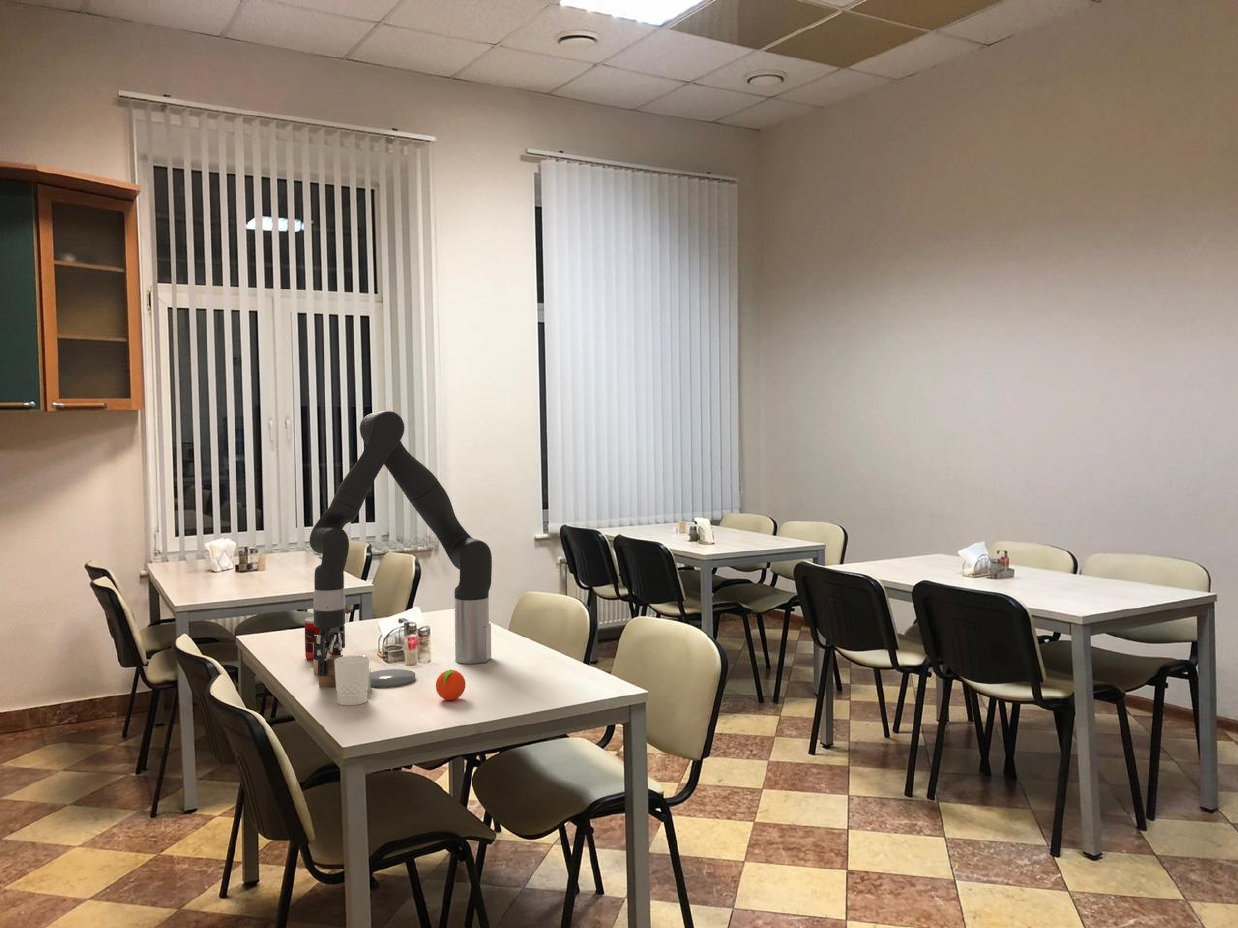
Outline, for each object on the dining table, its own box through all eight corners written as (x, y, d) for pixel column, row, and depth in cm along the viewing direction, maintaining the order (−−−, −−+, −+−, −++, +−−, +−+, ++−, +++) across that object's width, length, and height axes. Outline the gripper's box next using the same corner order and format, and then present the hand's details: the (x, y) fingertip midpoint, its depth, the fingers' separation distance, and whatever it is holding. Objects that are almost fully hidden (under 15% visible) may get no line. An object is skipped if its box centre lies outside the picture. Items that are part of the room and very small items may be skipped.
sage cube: (370, 688, 238) (370, 667, 238) (369, 693, 233) (368, 673, 233) (349, 689, 237) (349, 668, 237) (347, 694, 232) (347, 674, 232)
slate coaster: (421, 674, 251) (421, 669, 251) (406, 687, 238) (406, 682, 238) (372, 673, 252) (372, 668, 252) (354, 686, 239) (354, 681, 239)
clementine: (458, 705, 222) (458, 675, 222) (429, 704, 224) (429, 673, 223) (469, 696, 230) (469, 666, 230) (442, 694, 232) (441, 665, 231)
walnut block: (343, 682, 243) (343, 654, 243) (336, 687, 239) (336, 659, 238) (326, 682, 243) (325, 654, 243) (319, 687, 239) (318, 659, 239)
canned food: (338, 654, 273) (338, 615, 272) (327, 661, 265) (326, 621, 264) (312, 653, 273) (311, 615, 273) (300, 660, 266) (299, 621, 265)
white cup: (337, 708, 221) (336, 664, 221) (332, 699, 228) (332, 657, 228) (372, 704, 224) (371, 661, 224) (367, 695, 232) (366, 653, 231)
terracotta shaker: (332, 671, 254) (331, 640, 254) (326, 675, 250) (325, 644, 250) (317, 670, 255) (316, 640, 254) (311, 674, 251) (310, 644, 250)
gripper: (332, 612, 233) (333, 679, 233) (354, 601, 247) (354, 665, 247) (302, 611, 233) (303, 678, 234) (326, 601, 248) (326, 664, 248)
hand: (329, 671), depth 241 cm, fingers open, 8 cm apart
